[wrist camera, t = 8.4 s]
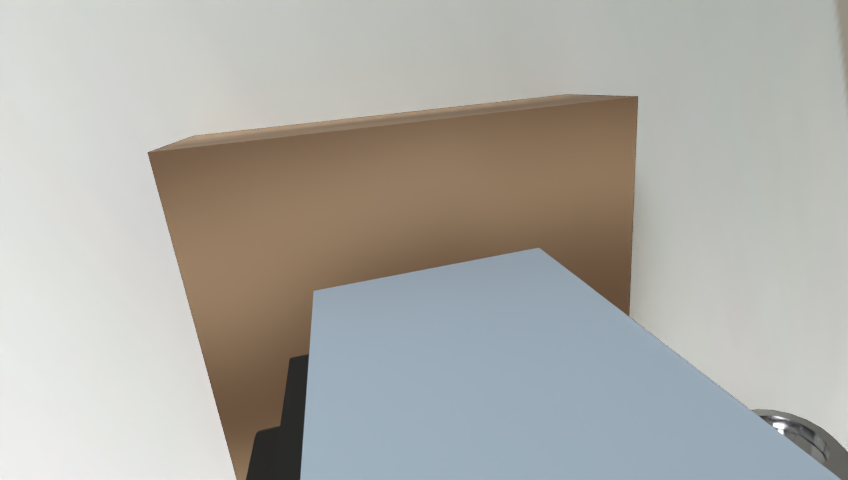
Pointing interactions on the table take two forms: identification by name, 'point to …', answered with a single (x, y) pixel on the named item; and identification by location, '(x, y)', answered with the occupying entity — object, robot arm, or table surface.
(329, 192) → the walnut block
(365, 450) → the slate block
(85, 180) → the table surface
